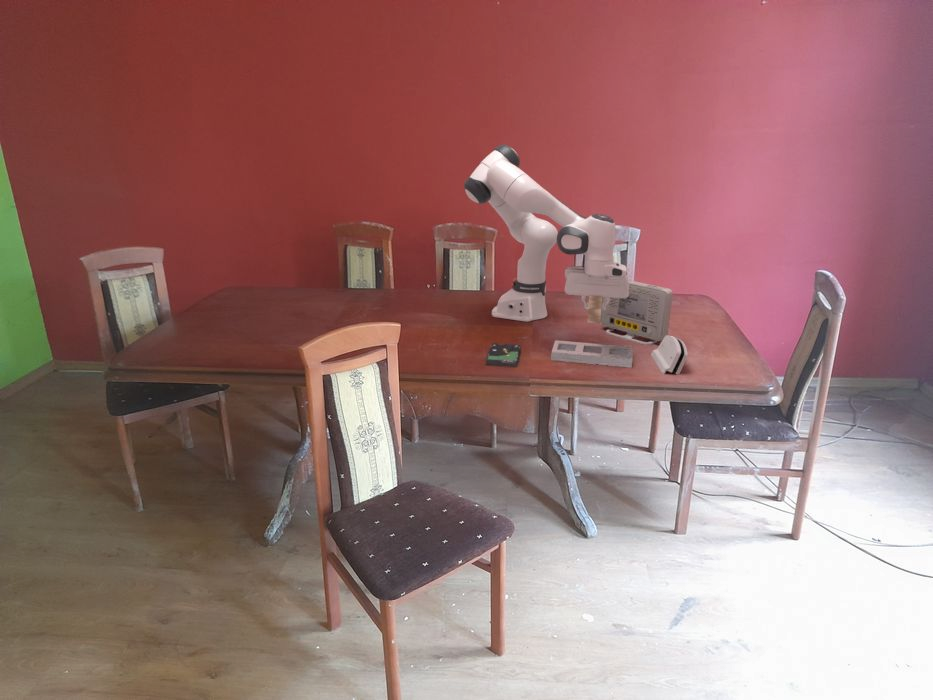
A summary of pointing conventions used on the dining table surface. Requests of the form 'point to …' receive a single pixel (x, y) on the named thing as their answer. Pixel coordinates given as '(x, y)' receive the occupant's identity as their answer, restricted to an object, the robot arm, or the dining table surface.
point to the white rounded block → (670, 355)
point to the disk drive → (503, 355)
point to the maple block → (594, 309)
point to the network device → (639, 312)
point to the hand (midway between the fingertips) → (595, 308)
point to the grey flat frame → (592, 353)
